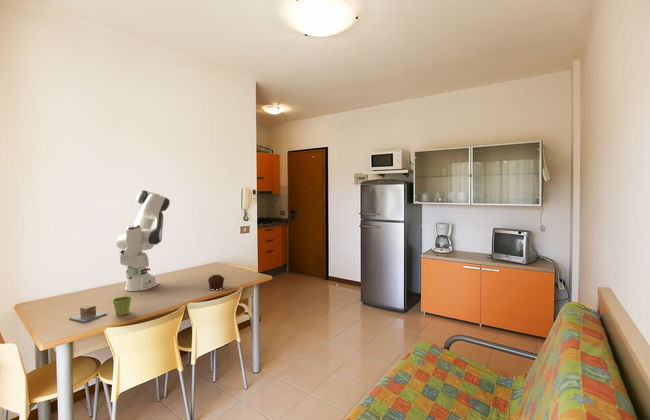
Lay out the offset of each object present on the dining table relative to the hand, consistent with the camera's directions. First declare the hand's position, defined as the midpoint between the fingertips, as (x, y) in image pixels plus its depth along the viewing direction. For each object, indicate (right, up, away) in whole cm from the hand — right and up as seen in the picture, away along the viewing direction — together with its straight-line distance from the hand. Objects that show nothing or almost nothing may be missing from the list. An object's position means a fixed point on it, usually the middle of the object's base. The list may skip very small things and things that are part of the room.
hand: (134, 273), depth 194 cm
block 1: (-13, -19, -22) cm, 32 cm away
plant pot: (+3, -20, -16) cm, 26 cm away
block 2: (0, -2, 0) cm, 2 cm away
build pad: (-13, -20, -21) cm, 32 cm away
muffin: (+40, -18, +32) cm, 54 cm away
